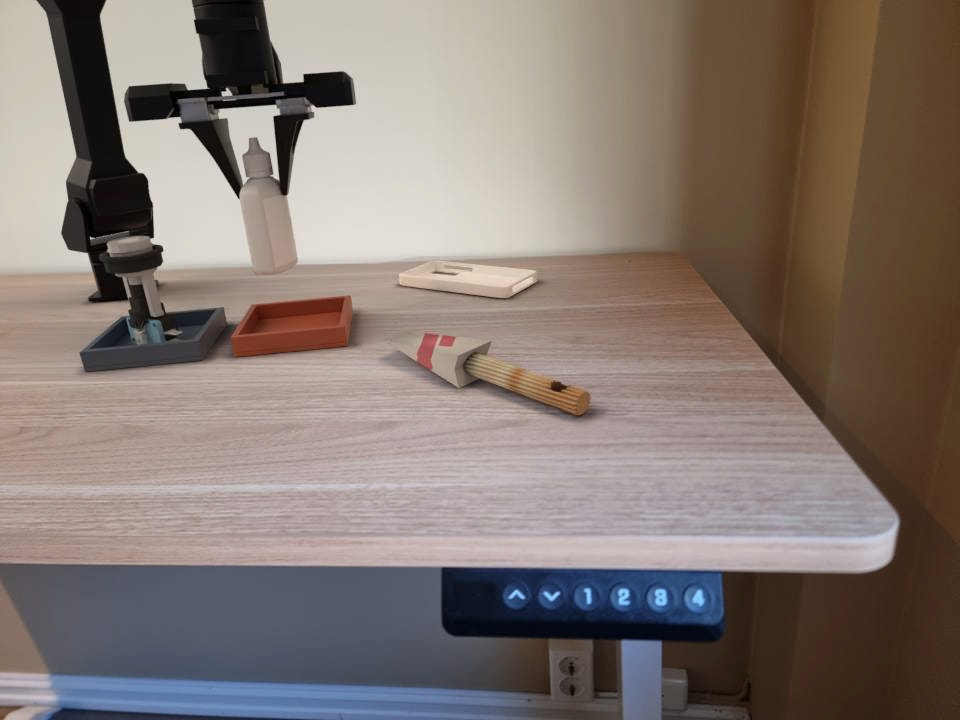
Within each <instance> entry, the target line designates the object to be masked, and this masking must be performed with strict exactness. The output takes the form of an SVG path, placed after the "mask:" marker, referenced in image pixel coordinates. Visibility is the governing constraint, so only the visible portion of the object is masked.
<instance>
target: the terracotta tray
mask: <svg viewBox="0 0 960 720" xmlns="http://www.w3.org/2000/svg"><path fill="white" fill-rule="evenodd" d="M353 315H354V308H353V301H352V295H350V294H349V295H337V296H329V297H317V298H316V297H315V298H305V299H295V300H284V301H275V302H261V303H252V304H251V305H250V306H249V308H248V309H247V311H246V313H245V315H244V316H243V318H242V319H241V320H240V322H239V323H238V325H237V327H236V328H235V330H234V331H233V333H232V335H231V336H230V343H231V348H232V352H233V357H234V358H240V357H247V356H249V357H250V356H259V355H271V354H280V353H289V352H300V351H309V350H311V351H312V350H320V349H330V348H341V347H348V345H349V340H350V339H349V338H350V335H351V334H350V333H351V327H352V322H353V321H352V320H353V317H354V316H353Z"/></svg>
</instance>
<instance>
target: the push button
mask: <svg viewBox="0 0 960 720" xmlns="http://www.w3.org/2000/svg"><path fill="white" fill-rule="evenodd" d="M107 246H108V250H107V251H106V252H103V253H101V254H100V255H99V259H100V261H103V262H104V266H105V270H106V272H108V273H111V274H115V275H116V276H118V277H122V278H123V281H124V285H125V289H126V292H127V296H128V298H127V299H128V303H129V307H130V308H129V309H128V310H127V313H128V316H129V317H127V318H126V321H127V324H128V328H129V332H130V335H131V340H132V342H133V343H135V344H137V345H139V344H150V343H160V342H171V341H181V340H179V339H177V337H176V335H178V334H181V333H182V332H181V331H178V326H177V322H176V318H175V317H174V316H173V315H167V314H166V312H167V311H166V309H165V305H164V303H163V302H161V300H160V295H159V291H158V288H157V285H156V283H155V280H156V279H155V276H154V274H155V272H156V271H157V270H158V268H159V267H161V266H162V264H163V262H164V259H163V255H162V253H164V246H163V245H161V244H154V243H152V239H150V237H148V236H133V237H125V238H120V239H115V240H112V241H109V242H108V243H107Z"/></svg>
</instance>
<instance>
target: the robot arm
mask: <svg viewBox="0 0 960 720" xmlns="http://www.w3.org/2000/svg"><path fill="white" fill-rule="evenodd" d="M35 1H36V2H37V3H38V4H39V6H40V7H41V9H42V10H43V11H44V12H45V15H46V18H47V23H48V27H49V32H50V37H51V42H52V46H53V51H54V57H55V61H56V66H57V70H58V73H59V78H60V84H61V89H62V93H63V94H62V95H63V99H64V103H65V107H66V113H67V118H68V122H69V128H70V132H71V136H72V141H73V146H74V151H75V159H74V161H73V163H72V166H71V169H70V171H69V173H68V174H67V177H66V180H65V187H66V195H67V202H66V206H65V212H64V216H63V222H62V227H61V232H60V234H61V237H62V239H63V241H64V243H65V246H66V248H67V250H68V251H72V252H78V253H83V254H87V257H88V260H89V263H90V267H91V271H92V275H93V277H94V281H95V285H96V288H97V290H96V291H95V292H93V293H92V294H91V295H89V296H88V297H87V301H88V302H98V301H99V302H101V301H111V300H122V299H128V296H127V292H126V289H125V285H124V281H123V278H122V277H118V276H116V275H115V274H111V273H108V272H106V270H105V266H104V262H103V261H100V259H99V255H100V254H101V253H103V252H106V251H107V250H108V246H107V243H108V242H109V241H112V240H115V239H120V238H125V237H133V236H148V237H150V240H152V239H154V238H155V223H154V222H155V221H154V203H153V201H152V198H151V194H150V187H149V179H148V177H147V176H146V174H145V173H143V172H139V171H138V170H137V169H136V168H135V166H134V165H133V164H132V162H130V161H129V159H128V158H127V156H126V154H125V150H124V144H123V138H122V132H121V127H120V122H119V121H120V120H119V115H118V109H117V104H116V98H115V93H114V88H113V87H114V86H113V82H112V76H111V71H110V70H111V69H110V65H109V60H108V55H107V54H108V53H107V48H106V42H105V36H104V32H103V26H102V19H101V14H102V12H103V9H104V7H105V5H106V3H107V0H35ZM191 5H192V9H193V14H194V15H193V16H194V19H193V22H194V28H195V29H194V30H195V33H196V34H197V35H198V39H199V45H200V49H201V66H202V67H201V68H202V75H203V78H204V80H205V83H206V88H198V89H197V88H196V89H188V87H187V85H186V83H173V82H170V83H169V82H168V83H153V84H141V85H139V84H138V85H129V86H128V87H127V89H126V91H125V92H124V97H123V98H124V99H123V102H124V107H125V111H126V116H127V118H128V119H127V120H128V122H129V123H131V122H147V121H161V120H168V119H175V118H180V121H181V122H178V123H177V124H178V128H179V130H190V131H191V132H192V133H193V134H194V136H195V137H196V138H197V140H199V142H200V144H201V145H202V146H203V148H204V149H206V151H207V152H208V154H209V155H210V156H211V158H212V159H213V160H214V162H215V163H216V165H217V167H218V168H219V170H220V171H221V173H222V175H223V176H224V178H225V180H226V181H227V183H228V185H229V186H230V187H231V190H232V191H233V193H234V194H235V196H236V198H237V199H238V200H240V191H241V188H242V186H243V185H244V181H243V178H242V175H241V172H240V171H241V170H240V169H239V164H238V160H237V157H236V154H235V151H234V147H233V144H232V141H231V135H230V126H229V119H228V117H226V118H225V117H224V118H223V117H222V118H220V115H219V113H220V112H221V111H220V110H224V109H225V110H227V109H239V108H240V109H241V108H253V107H268V106H276V109H279V114H277V115H273V116H272V117H273V118H272V119H273V128H274V141H275V151H276V161H277V162H276V163H277V171H278V180H279V181H280V186H281V190H282V194H283V196H287V197H288V195H289V193H290V186H291V179H292V178H291V177H292V173H293V166H294V159H295V152H296V147H297V144H298V140H299V136H300V134H301V130H302V127H303V124H304V122H305V121H308V120H312V119H314V118H315V111H313V109H312V107H313V106H314V107H315V108H316V109H319V108H321V109H323V108H333V107H335V108H336V107H347V106H355V105H357V99H356V89H355V83H354V78H353V77H352V76H351V75H350V74H348V73H347V72H346V71H343V70H340V71H326V72H313V73H302V77H303V80H302V81H297V82H296V81H295V82H284V78H283V69H282V62H281V60H280V58H279V54H278V53H277V51H276V48H275V47H274V44H273V42H272V41H271V36H270V30H269V24H268V18H267V11H266V7H265V0H191ZM227 89H228V90H229V92H230V94H231V95H223V93H224V92H227ZM155 283H156V286H158V285H159V284H160V281H159V279H155Z"/></svg>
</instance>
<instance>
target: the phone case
mask: <svg viewBox="0 0 960 720" xmlns="http://www.w3.org/2000/svg"><path fill="white" fill-rule="evenodd" d="M446 266H453V267H463V268H471V270H468V269H457V268H450V267H446ZM435 272H437V273H435ZM441 273H446V274H441ZM450 274H454V275H450ZM398 280H399V285H400V286H403V287H410V288H417V289H426V290H434V291H443V292H450V293H458V294H466V295H467V294H468V295H473V296H482V297H488V298H497V299H498V298H499V299H509V298H510V297H513V296H514V295H516V294H518V293H519V292H521V291H523V290H525V289H527V288H528V287H531V286H532V285H534V284H536V283H537V282H538V272H537V271H536V270H534V269H527V268H515V267H505V266H497V265H486V264H475V263H466V262H458V261H457V262H456V261H447V260H446V261H445V260H431V261H428V262H425V263H423V264H421V265H418V266H416V267H413V268H410V269H408V270H406V271H403V272H400V273H398Z"/></svg>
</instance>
